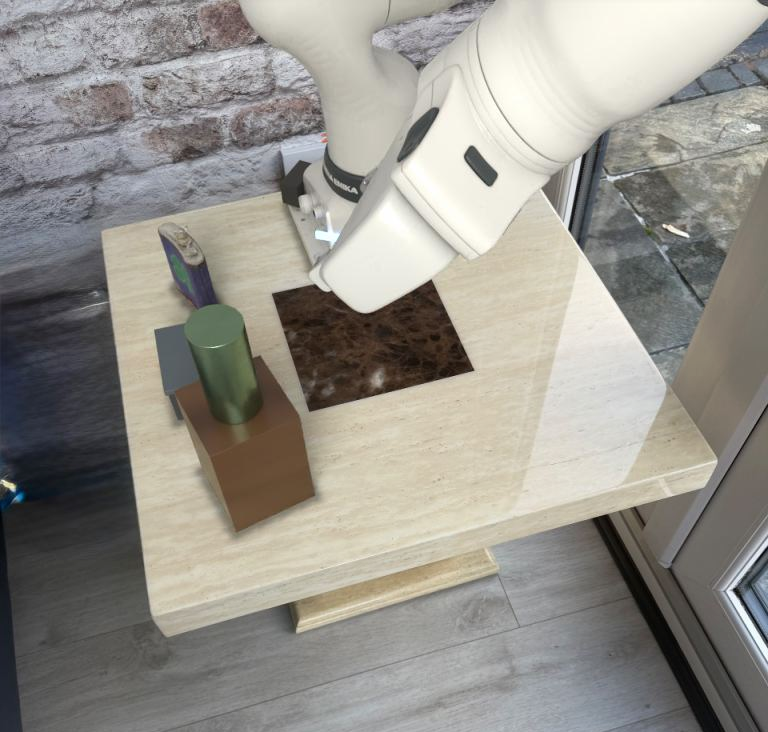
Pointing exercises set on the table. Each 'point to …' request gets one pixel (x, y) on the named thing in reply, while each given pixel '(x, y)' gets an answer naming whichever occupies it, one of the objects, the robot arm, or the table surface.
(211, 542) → the table surface
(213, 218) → the table surface
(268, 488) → the block
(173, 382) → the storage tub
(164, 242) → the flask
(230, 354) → the tin
